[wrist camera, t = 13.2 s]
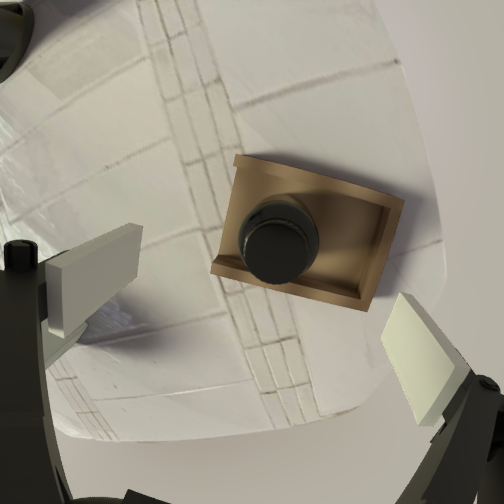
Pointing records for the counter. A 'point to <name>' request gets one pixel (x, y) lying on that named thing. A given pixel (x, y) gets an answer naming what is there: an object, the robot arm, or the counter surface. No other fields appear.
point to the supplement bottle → (278, 239)
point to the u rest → (329, 228)
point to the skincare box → (58, 342)
